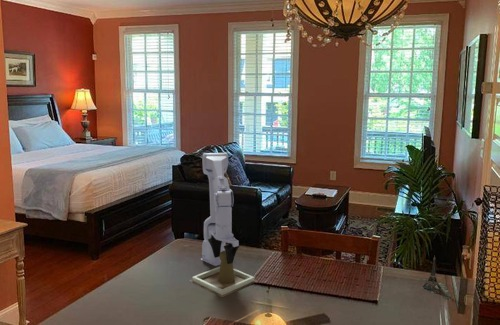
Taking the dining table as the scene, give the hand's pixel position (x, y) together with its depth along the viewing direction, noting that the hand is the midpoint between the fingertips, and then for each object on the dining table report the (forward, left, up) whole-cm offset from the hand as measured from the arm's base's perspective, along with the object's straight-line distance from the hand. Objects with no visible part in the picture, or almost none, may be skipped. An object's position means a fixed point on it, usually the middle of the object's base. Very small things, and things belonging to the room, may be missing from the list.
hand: (223, 260), depth 168 cm
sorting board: (0, 0, -8) cm, 8 cm away
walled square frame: (0, 0, -8) cm, 8 cm away
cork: (0, +1, -8) cm, 8 cm away
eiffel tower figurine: (+57, +49, -9) cm, 76 cm away
